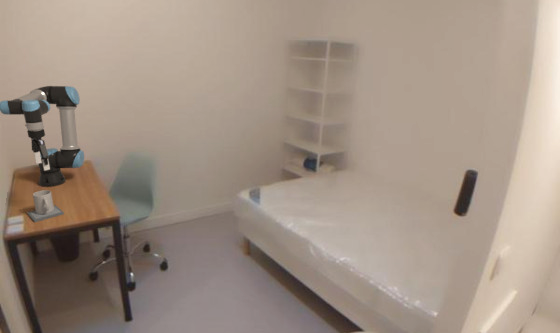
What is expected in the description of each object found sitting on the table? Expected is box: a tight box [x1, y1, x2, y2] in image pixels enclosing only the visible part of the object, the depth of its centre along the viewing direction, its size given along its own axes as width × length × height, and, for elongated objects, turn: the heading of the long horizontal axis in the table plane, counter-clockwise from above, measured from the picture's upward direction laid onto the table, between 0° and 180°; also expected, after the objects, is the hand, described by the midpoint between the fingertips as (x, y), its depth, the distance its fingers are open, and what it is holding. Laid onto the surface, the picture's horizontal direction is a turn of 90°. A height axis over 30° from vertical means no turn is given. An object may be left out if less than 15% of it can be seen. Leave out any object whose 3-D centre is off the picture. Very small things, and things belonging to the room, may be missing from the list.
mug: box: [32, 189, 54, 214], centre depth 191 cm, size 12×8×11 cm
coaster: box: [26, 204, 65, 223], centre depth 193 cm, size 13×14×1 cm
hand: (42, 166), depth 193 cm, fingers open, 13 cm apart
